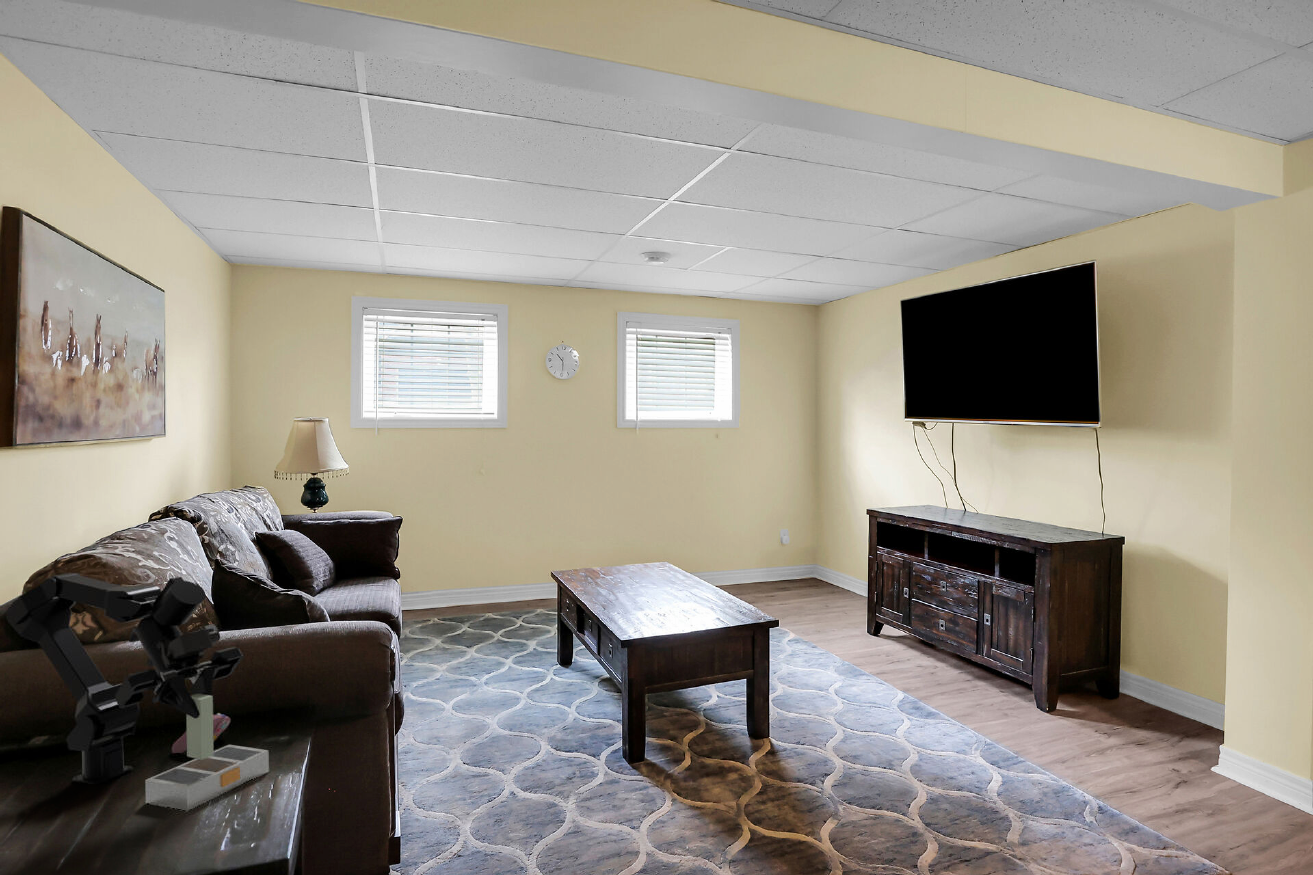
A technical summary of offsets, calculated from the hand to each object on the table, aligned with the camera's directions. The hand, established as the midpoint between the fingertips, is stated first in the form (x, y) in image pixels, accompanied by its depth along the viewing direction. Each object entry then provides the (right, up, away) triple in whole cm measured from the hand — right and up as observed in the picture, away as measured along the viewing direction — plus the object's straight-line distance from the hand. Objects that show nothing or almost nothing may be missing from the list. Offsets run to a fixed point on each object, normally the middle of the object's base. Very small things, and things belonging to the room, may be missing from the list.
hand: (204, 714), depth 120 cm
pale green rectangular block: (-1, -7, 0) cm, 7 cm away
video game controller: (-14, -15, +22) cm, 30 cm away
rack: (-1, -14, +2) cm, 14 cm away
